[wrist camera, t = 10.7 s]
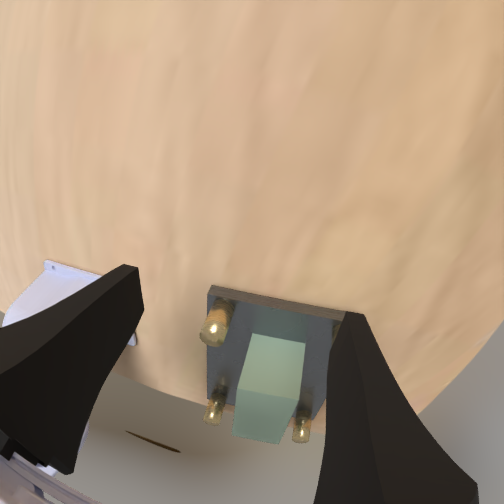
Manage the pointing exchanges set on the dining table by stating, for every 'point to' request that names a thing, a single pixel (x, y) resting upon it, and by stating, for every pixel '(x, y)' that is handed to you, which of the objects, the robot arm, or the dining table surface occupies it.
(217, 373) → the plate
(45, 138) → the dining table surface
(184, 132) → the dining table surface
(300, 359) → the board block
